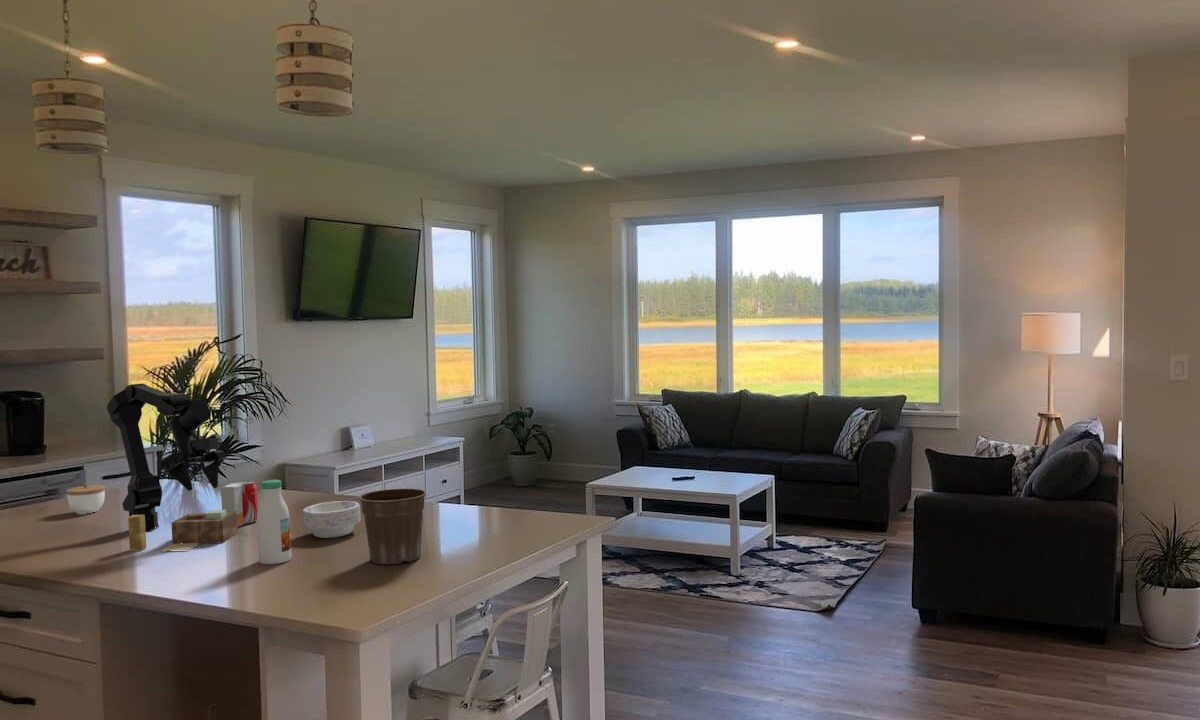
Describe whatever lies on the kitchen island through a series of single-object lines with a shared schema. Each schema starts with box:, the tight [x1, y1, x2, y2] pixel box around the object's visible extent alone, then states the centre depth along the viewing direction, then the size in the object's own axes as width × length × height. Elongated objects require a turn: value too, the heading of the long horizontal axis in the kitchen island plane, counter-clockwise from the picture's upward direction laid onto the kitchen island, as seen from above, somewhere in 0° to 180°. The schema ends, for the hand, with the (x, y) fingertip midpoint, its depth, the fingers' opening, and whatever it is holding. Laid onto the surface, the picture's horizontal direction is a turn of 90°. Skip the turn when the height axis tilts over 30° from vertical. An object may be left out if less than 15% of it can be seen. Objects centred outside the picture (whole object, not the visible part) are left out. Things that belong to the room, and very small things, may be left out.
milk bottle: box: [256, 479, 293, 565], centre depth 229 cm, size 8×8×20 cm
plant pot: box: [358, 488, 427, 566], centre depth 228 cm, size 16×16×16 cm
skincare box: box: [220, 482, 246, 528], centre depth 270 cm, size 6×4×12 cm
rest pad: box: [160, 543, 199, 552], centre depth 246 cm, size 7×7×1 cm
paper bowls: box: [302, 500, 362, 539], centre depth 256 cm, size 15×15×8 cm
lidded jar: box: [66, 482, 106, 515], centre depth 296 cm, size 11×11×9 cm
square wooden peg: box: [127, 515, 147, 552], centre depth 245 cm, size 3×3×9 cm
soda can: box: [234, 479, 259, 525], centre depth 274 cm, size 7×7×12 cm
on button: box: [205, 509, 227, 519], centre depth 255 cm, size 4×4×3 cm
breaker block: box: [171, 512, 238, 544], centre depth 255 cm, size 14×11×6 cm
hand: (203, 488), depth 252 cm, fingers open, 9 cm apart
